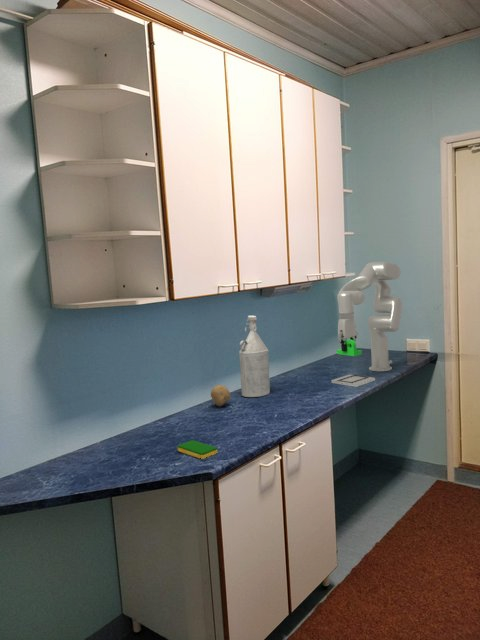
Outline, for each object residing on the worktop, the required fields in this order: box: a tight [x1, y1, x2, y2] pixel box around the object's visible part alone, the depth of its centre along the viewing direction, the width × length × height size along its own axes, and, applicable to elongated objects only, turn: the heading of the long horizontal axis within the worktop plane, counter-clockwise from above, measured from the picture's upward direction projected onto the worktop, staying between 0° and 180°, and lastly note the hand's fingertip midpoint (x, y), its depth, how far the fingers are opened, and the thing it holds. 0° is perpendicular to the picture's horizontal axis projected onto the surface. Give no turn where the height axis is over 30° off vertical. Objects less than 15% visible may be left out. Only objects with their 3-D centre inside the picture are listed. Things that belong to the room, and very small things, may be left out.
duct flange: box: [331, 374, 376, 388], centre depth 267 cm, size 16×16×2 cm
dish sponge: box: [177, 440, 218, 460], centre depth 179 cm, size 7×14×2 cm, turn 44°
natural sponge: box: [210, 384, 231, 407], centre depth 237 cm, size 9×9×10 cm
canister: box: [238, 315, 271, 398], centre depth 253 cm, size 13×17×40 cm
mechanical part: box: [336, 339, 363, 357], centre depth 265 cm, size 12×6×8 cm, turn 36°
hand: (348, 349), depth 266 cm, fingers closed on mechanical part, 6 cm apart
